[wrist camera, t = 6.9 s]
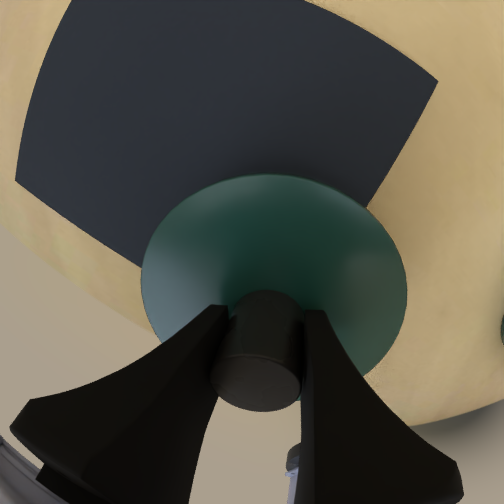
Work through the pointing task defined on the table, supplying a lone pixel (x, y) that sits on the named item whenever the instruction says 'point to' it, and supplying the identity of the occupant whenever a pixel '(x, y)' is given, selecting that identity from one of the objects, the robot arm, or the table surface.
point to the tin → (502, 331)
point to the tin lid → (274, 279)
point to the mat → (208, 107)
